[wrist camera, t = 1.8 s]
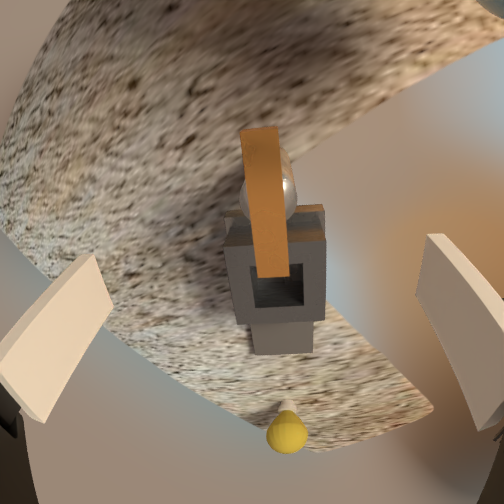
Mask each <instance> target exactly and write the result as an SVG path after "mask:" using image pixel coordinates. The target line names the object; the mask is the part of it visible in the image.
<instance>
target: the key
mask: <svg viewBox="0 0 504 504" xmlns="http://www.w3.org/2000/svg"><path fill="white" fill-rule="evenodd" d="M240 140H241V148H242V156H243V164H244V171H245V180H244V183H243V185H242V188H241V190H240V194H239V203H240V207H241V209H242V211H243V213H244V215H245V216H246V217H247V218H248V219H249V220H251V227H252V235H253V243H254V251H255V259H256V267H257V275H258V278H270V277H287V276H290V275H289V256H288V241H287V227H286V221H287V220H288V219H289V218H290V217H291V216H292V214H293V213H294V211H295V209H296V206H297V193H296V188H295V183H294V178H293V173H292V168H291V163H290V159H289V156H288V154H287V152H286V151H285V150H284V149H283V148H282V147H280V145H279V135H278V126H273V127H262V128H252V129H243V130H242V131H241V132H240Z"/></svg>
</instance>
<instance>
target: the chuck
mask: <svg viewBox="0 0 504 504" xmlns="http://www.w3.org/2000/svg"><path fill="white" fill-rule="evenodd" d="M224 222H225V228H226V234H227V237H226V240H225V243H224V246H223V251H224V256H225V262H226V267H227V273H228V278H229V284H230V289H231V295H232V300H233V305H234V310H235V316H236V321H237V325H240V324H270V323H290V322H307V321H322V320H325V300H326V238H325V211H324V208H323V205H322V204H316V205H299V206H296V209H295V211H294V213H293V214H292V216H291V217H290V218H289V219H288V220H287V221H286V227H287V241H288V256H289V275H290V276H287V277H270V278H258V275H257V267H256V259H255V251H254V243H253V235H252V227H251V220H249V219H248V218H247V217H246V216H245V215H244V213H243V211H242V210H233V211H227V212H226V214H225V217H224Z"/></svg>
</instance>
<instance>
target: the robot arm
mask: <svg viewBox="0 0 504 504" xmlns="http://www.w3.org/2000/svg"><path fill="white" fill-rule="evenodd" d="M476 1H477V2H478V3H479V4H480V5H482V6H483V7H484V8H485V9H486V10H487V11H489V12H490V13H492V14H494V15H495V16H497V17H499V18H501V19H504V0H476ZM415 295H416V297H417V299H418V301H419V303H420V304H421V306H422V308H423V310H424V312H425V314H426V315H427V317H428V319H429V321H430V323H431V325H432V327H433V329H434V331H435V333H436V335H437V337H438V339H439V341H440V343H441V345H442V347H443V349H444V351H445V353H446V355H447V357H448V360H449V362H450V364H451V366H452V368H453V371H454V373H455V375H456V377H457V380H458V381H459V384H460V386H461V389H462V391H463V394H464V396H465V399H466V401H467V404H468V406H469V409H470V411H471V414H472V416H473V419H474V422H475V425H476V427H477V430H478V431H481V430H483V429H486V428H489V427H491V426H493V425H496V424H497V423H498V422H499V421H500V420H501V419H502V418H503V416H504V298H502V299H501V297H500V296H499V295H498V294H497V292H496V291H495V290H494V289H493V288H492V286H491V285H490V284H489V283H488V282H487V280H486V279H485V278H484V277H483V276H482V275H481V273H480V272H479V271H478V270H477V269H476V268H475V267H474V265H472V263H471V262H470V261H469V260H468V259H467V258H466V257H465V256H464V255H463V254H462V252H461V251H460V250H459V249H458V248H457V247H456V246H455V245H454V244H453V243H452V242H451V241H450V240H449V239H448V238H447V237H446V236H445V235H444V234H443V233H442V234H427V235H426V242H425V249H424V254H423V260H422V265H421V270H420V276H419V280H418V286H417V290H416V294H415ZM113 308H114V306H113V303H112V301H111V298H110V296H109V294H108V291H107V289H106V286H105V283H104V281H103V278H102V276H101V273H100V270H99V268H98V265H97V262H96V259H95V256H94V254H84V255H80V256H79V257H78V258H77V259H76V260H75V261H74V262H73V263H72V264H71V265H70V266H69V267H68V268H67V269H66V270H65V271H64V272H63V273H62V274H61V275H60V276H59V277H58V278H57V279H56V280H55V281H54V282H53V283H52V284H51V285H50V286H49V287H48V288H47V289H46V290H45V291H44V293H42V295H41V296H40V297H39V298H38V299H37V300H36V301H35V302H34V303H33V305H32V306H31V307H30V308H29V309H28V310H27V311H26V312H25V314H24V315H23V316H22V317H21V318H20V319H19V321H18V322H17V323H16V324H15V325H14V327H13V328H12V329H11V330H10V331H9V332H8V334H7V335H6V336H5V337H4V339H3V340H2V341H1V342H0V504H39V503H38V499H37V496H36V492H35V488H34V483H33V479H32V474H31V469H30V464H29V458H28V452H27V446H26V438H25V430H24V421H23V417H22V415H20V413H19V410H20V408H22V409H23V410H24V411H25V412H26V413H27V414H28V415H29V416H30V418H33V419H35V420H37V421H39V422H42V423H45V421H46V419H47V418H48V416H49V414H50V412H51V410H52V408H53V406H54V405H55V403H56V401H57V399H58V397H59V395H60V394H61V392H62V390H63V388H64V386H65V385H66V383H67V381H68V380H69V378H70V376H71V374H72V373H73V371H74V369H75V368H76V366H77V364H78V362H79V361H80V359H81V358H82V356H83V354H84V353H85V351H86V350H87V348H88V346H89V345H90V343H91V342H92V340H93V338H94V337H95V335H96V333H97V332H98V330H99V329H100V327H101V326H102V324H103V323H104V321H105V320H106V318H107V317H108V315H109V314H110V312H111V311H112V309H113ZM502 434H503V436H502V440H501V441H500V446H499V449H498V452H497V455H496V458H495V461H494V463H493V466H492V469H491V472H490V474H489V477H488V479H487V482H486V484H485V487H484V489H483V491H482V493H481V495H480V498H479V500H478V502H477V504H504V427H503V428H502V429H501V430H500V431H499V432H498V433H497V434H496V436H495V438H494V439H493V440H494V441H496V440H497V439H498V438H499V437H500V436H501V435H502Z"/></svg>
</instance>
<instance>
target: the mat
mask: <svg viewBox="0 0 504 504" xmlns="http://www.w3.org/2000/svg"><path fill="white" fill-rule="evenodd" d="M250 326H251V332H252V339H253V345H254V351H255V355H280V354H301V353H313V321H307V322H290V323H270V324H250Z"/></svg>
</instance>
